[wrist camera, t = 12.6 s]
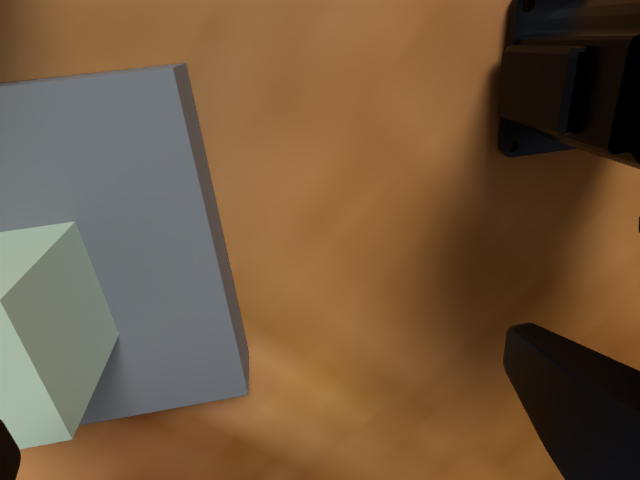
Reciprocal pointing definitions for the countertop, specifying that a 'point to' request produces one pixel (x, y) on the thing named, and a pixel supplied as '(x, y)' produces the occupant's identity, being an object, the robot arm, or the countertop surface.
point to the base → (132, 227)
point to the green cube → (49, 333)
